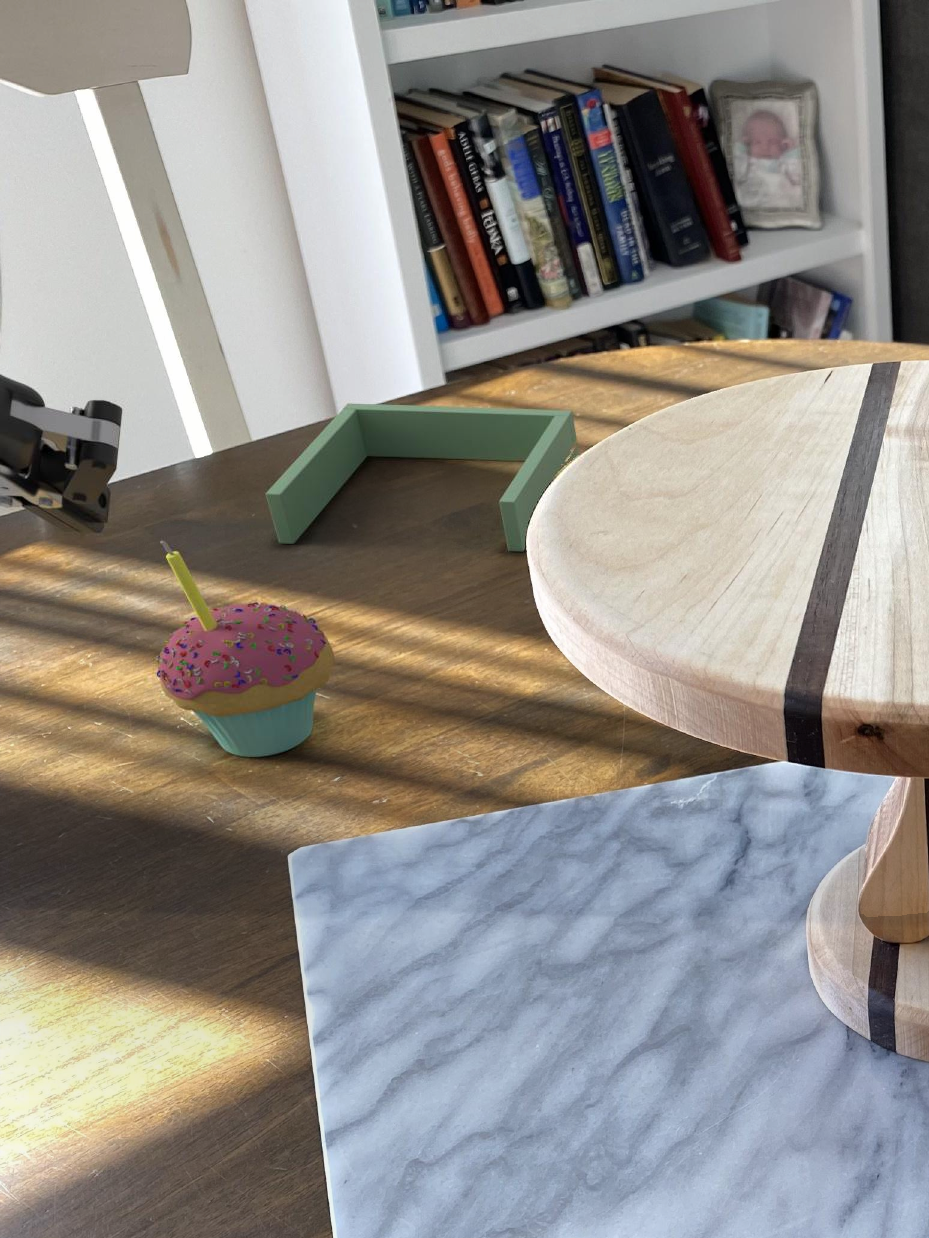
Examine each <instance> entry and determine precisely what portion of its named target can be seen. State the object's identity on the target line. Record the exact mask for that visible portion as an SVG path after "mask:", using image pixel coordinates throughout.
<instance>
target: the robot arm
mask: <svg viewBox="0 0 929 1238" xmlns="http://www.w3.org/2000/svg"><path fill="white" fill-rule="evenodd" d="M122 418H123V408H122V407H121V406H120V405H118V404H115V403H113V402H111V401H108V400H105V399H91V400H89V401H87V402H86V404H85V406H84V408H82V407H79V406H71V407H70V408H69V412H67V411H64V410H59V409H54V408H50V407H46V403H45V401H44V398H43V397H42V396H41V394H40V393H39V392H38V391H36V390H35V389H34V388H33V387H31V386H29V385H28V384H25V383H22V382H19V381H17V380H14V379H12V378H10V377H7V376H5V375H3V374H1V373H0V507H3V508H20V507H21V508H23V509H25V510H27V511H28V512H30V513H32V514H34V515H35V516H37V517H38V518H40V519H42V520H44V521H46V522H47V523H49V524H51V525H52V526H54V527H56V528H57V529H58V530H60V531H63V532H64V533H83V534H100V533H102V532H103V530H104V527H105V524H108V522H109V521H108V520H109V512H110V502H111V491H110V490H111V489H110V488H109V487H108V486H107V485H108V484H109V482H110V481H111V479H112V478H113V476H114V474H115V473H116V471H117V467H118V459H119V449H120V448H119V447H120V439H121V426H122Z"/></svg>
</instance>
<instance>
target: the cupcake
mask: <svg viewBox="0 0 929 1238" xmlns="http://www.w3.org/2000/svg"><path fill="white" fill-rule="evenodd" d="M159 542H160V544H161V545H162V546H163V547H164V549H165V551H166V552H167V554H166V556H165V558H166V560H167V562H168V564H169V566H170V568H171V570H172V571H173V573H174V575H175V577H176V579H177V581H178V583H179V585H180V586H181V589H182V590H183V592H184V594H185V596H186V598H187V600H188V602H189V603H190V605H191V607H192V610H193V611H194V613H195V615H196V617H195V616H194V617H191V618H190V619H189V620H188V621H184V622H183V625H182V626H181V627H180V628H179V629H177V630H175V631H174V632H173V633H170V634H169V638H167V639H166V640H165V643H166V645H164V646H163V647H162V649H161V651H160V653H159V655H157V656H156V658H155V659H156V663H157V672H156V677H158V679H159V684H160V686H161V690H162V692H163V693H164V695H165V696H166V697H167V698H169V699H170V700H172V702H173V703H174V704H175V705H176V706H177V707H178V708H179V709H182V710H185V711H192V712H193V713H194V714H195V715H196V716H197V717H198V718H199V720H201V722H202V723H203V724H204V725H205V726H206V728H207V729H208V731H210V734H212V735H213V737H214V738H215V740H216V741H217V742H218V744H219V745H220V747H222V749H223V750H224V751H226V752H228V753H230V754H232V755H235V756H238V757H245V758H260V757H261V758H262V757H268V756H269V757H270V756H273V755H278V754H281V753H285V752H287V751H289V750H291V749H294V748H296V747H297V746H299V745H301V744H302V743H303V742H304V741H306V739H308V738H309V736H311V733H312V731H313V728H314V710H315V700H316V695H317V691H318V689H319V688H321V687H322V686H324V685H325V684H326V683H327V682H328V681H329V680H330V678H331V676H332V669H333V667H334V663H335V653H334V650H333V648H332V646H331V643H330V641H329V639H328V637H327V636H326V634H325V632H324V631H323V630H321V629H320V628H319V627H318V626H317V624H316V620H315V619H314V617H313V618H312V617H310V618H307V616H306V615H305V614H304V613H303V614H300V613H299V612H298V611H297V610H295V611H294V610H293V609H290V608H289V609H287V606H286V605H285V604H280V605H279V606H277V605H274V604H268V603H267V602H261V603H259V602H254V603H252V602H251V603H247V604H246V603H245V604H231V605H230V604H223V605H221V607H219V608H214V607H212V610H210V609H209V607H208V605H207V603H206V602H205V599H204V597H203V595H202V594H201V592H200V590H199V587H198V586H197V584H196V582H195V580H194V578H193V576H192V575H191V572H190V571H189V569H188V566H187V565H186V563H185V560H184V559H183V556H182V555H181V553H180V552H179V551H178V550H177V551H176V550H175V551H172V549H171V548H170V546H169V544H168V543H167V542H166V541H165V540H161V541H159Z"/></svg>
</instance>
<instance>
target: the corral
mask: <svg viewBox="0 0 929 1238" xmlns="http://www.w3.org/2000/svg"><path fill="white" fill-rule="evenodd" d="M576 432H577V431H576V425H575V420H574V412H573V410H569V409H568V410H567V409H565V410H564V409H536V408H535V409H533V408H505V407H503V408H501V407H475V406H474V407H470V406H438V405H410V404H409V405H408V404H380V403H378V404H377V403H349V402H348V403H346V404H345V406H344V407H343V408H342V409H341V410H340V411H339V412H338V414H337V415H336V416H335V417H334V418H333V419H332V420H331V422H329V424H328V425H327V426H326V427H325V428H324V429H323V430H322V431H321V432H320V434H319V435H317V437H316V438H315V439H314V440H313V441H312V442H311V443H310V444H309V446H307V447H306V448H305V449H304V451H303V452H302V453H301V454H300V455H299V457H298V458H297V459H295V461H294V462H293V463H292V464H291V465H290V466H289V467H288V468H287V469H286V471H284V472H283V474H282V475H281V476H280V477H279V478H278V479H277V481H276V482H274V484H273V485H272V486H271V487H270V488H269V489H267V491H266V492H265V497H266V500H267V504H268V509H269V511H270V515H271V519H272V523H273V525H274V529H275V533H276V536H277V540H278V543H279V544H285V545H288V544H289V545H293V544H296V542H297V541H298V540H299V538H300V537H301V536H302V535H303V533H305V531H306V530H308V528H309V526H310V525H311V524H312V523H313V522H314V520H315V519H316V518H317V517H318V515H320V513H321V512H322V511H323V510H324V509H325V507H326V506H327V505H328V504H329V502H330V501H331V500H332V499H333V498H334V497H335V495H336V494H337V493H338V492H339V491H340V489H341V488H342V487H343V486H344V485H345V484H346V483H347V481H348V480H349V478H351V476H352V475H353V474H354V473H355V472H356V470H357V469H359V467H360V466H361V464H362V463H363V462H364V461H365V459H366V458H367V457H383V458H384V457H389V458H414V459H415V458H417V459H444V460H445V459H450V460H451V459H452V460H475V461H476V460H479V461H480V460H481V461H510V462H511V461H512V462H523V464H522V466H521V467H520V468H519V470H518V472H517V474H516V475H515V477H514V478H513V479H512V481H511V483H510V484H509V486H508V487H507V488H506V490H505V492H504V493H503V495H502V497H501V498H500V499H499V501H498V502H499V508H500V514H501V520H502V524H503V530H504V534H505V539H506V544H507V550H508V552H520V553H521V552H524V551H525V549H526V548H525V536H526V532H527V526H528V521H529V520H530V516H531V513H532V512H533V509H534V507H535V506H536V504H537V501H539V498H540V496H541V495H542V493H543V491H545V489H546V487H547V486H548V485H549V483H550V482H551V480H552V479H553V477H555V475H556V474H557V473H558V471H560V470H561V469H562V468H563V467H564V465H567V463H569V462H570V461H572V460H573V458H575V457H576V456H577V455H579V456H580V452H579V445H578V444H577V446H576V448H575V449H574V451H573V453H572V454H571V456H570V458H569V459H568V461H567V462H565V460H566V458H567V457H568V456H569V455H570V453H571V451H570V450H571V449H572V448H573V445H574V444H575V442H576V441H577V442H578V439H577V433H576ZM561 464H563V465H561Z"/></svg>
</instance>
